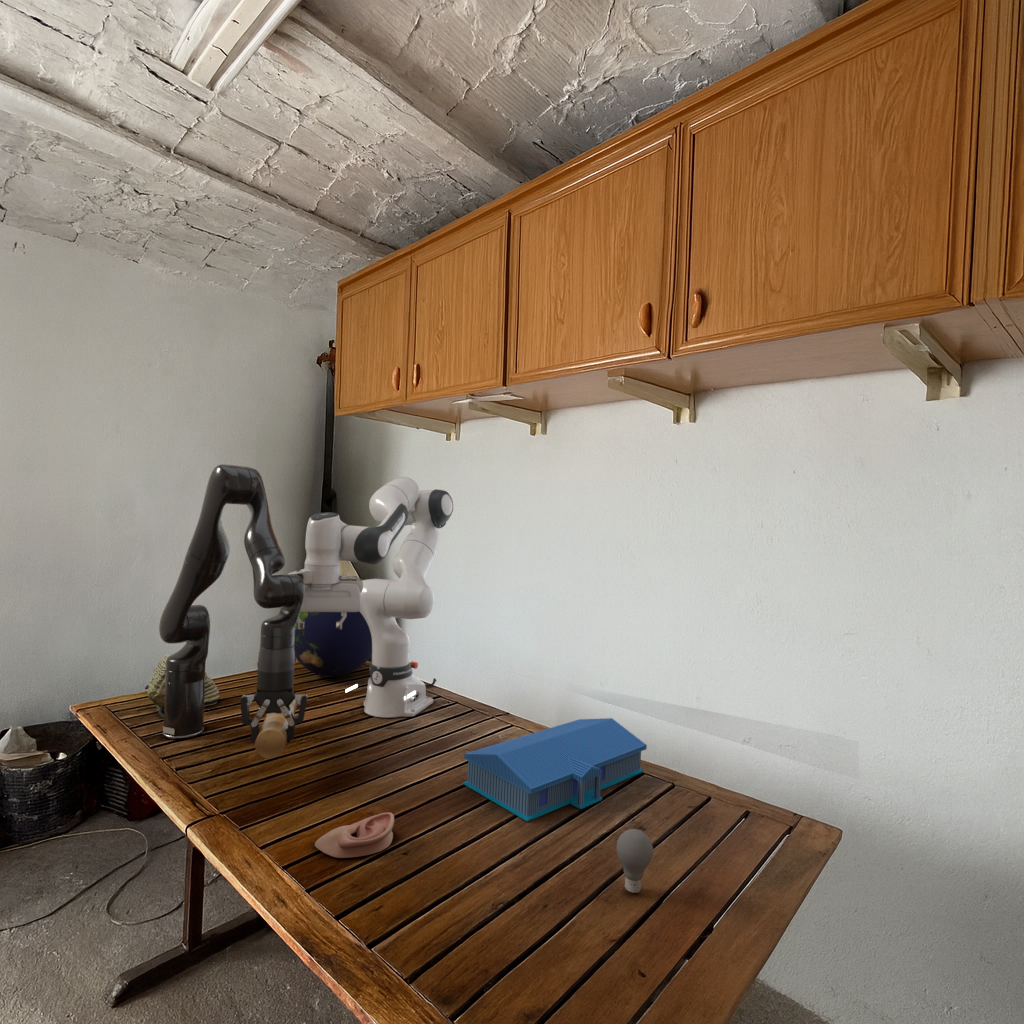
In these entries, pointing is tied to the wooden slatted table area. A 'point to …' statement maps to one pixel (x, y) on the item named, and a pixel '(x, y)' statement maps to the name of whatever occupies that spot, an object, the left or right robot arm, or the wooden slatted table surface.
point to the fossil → (158, 687)
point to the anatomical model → (358, 837)
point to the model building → (555, 766)
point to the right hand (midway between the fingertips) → (320, 629)
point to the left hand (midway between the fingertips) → (272, 741)
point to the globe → (332, 643)
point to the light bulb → (634, 857)
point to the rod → (273, 734)
